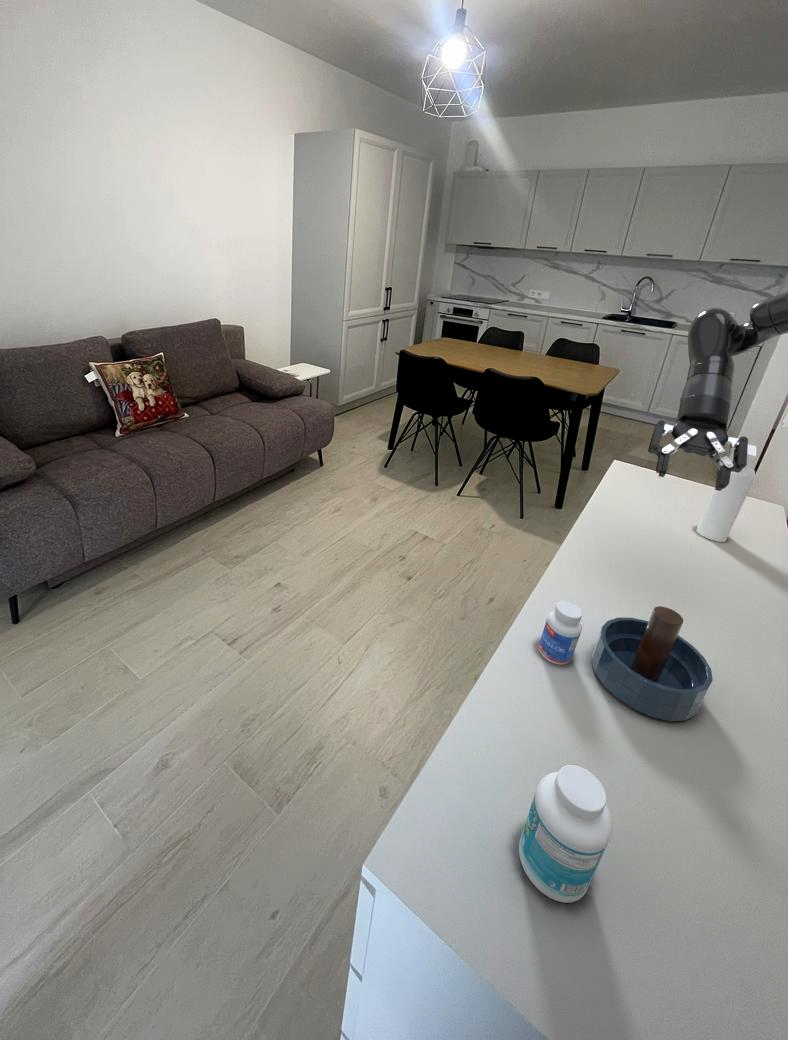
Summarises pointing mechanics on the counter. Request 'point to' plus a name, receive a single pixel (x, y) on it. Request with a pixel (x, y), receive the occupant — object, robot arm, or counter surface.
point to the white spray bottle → (727, 502)
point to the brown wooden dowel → (657, 643)
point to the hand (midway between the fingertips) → (690, 482)
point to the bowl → (663, 700)
